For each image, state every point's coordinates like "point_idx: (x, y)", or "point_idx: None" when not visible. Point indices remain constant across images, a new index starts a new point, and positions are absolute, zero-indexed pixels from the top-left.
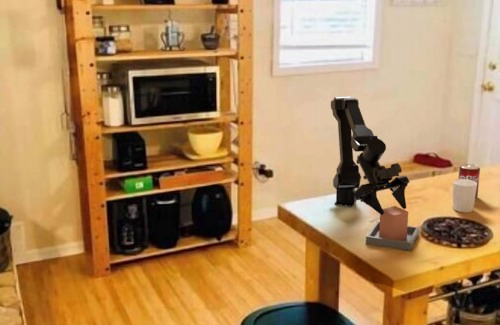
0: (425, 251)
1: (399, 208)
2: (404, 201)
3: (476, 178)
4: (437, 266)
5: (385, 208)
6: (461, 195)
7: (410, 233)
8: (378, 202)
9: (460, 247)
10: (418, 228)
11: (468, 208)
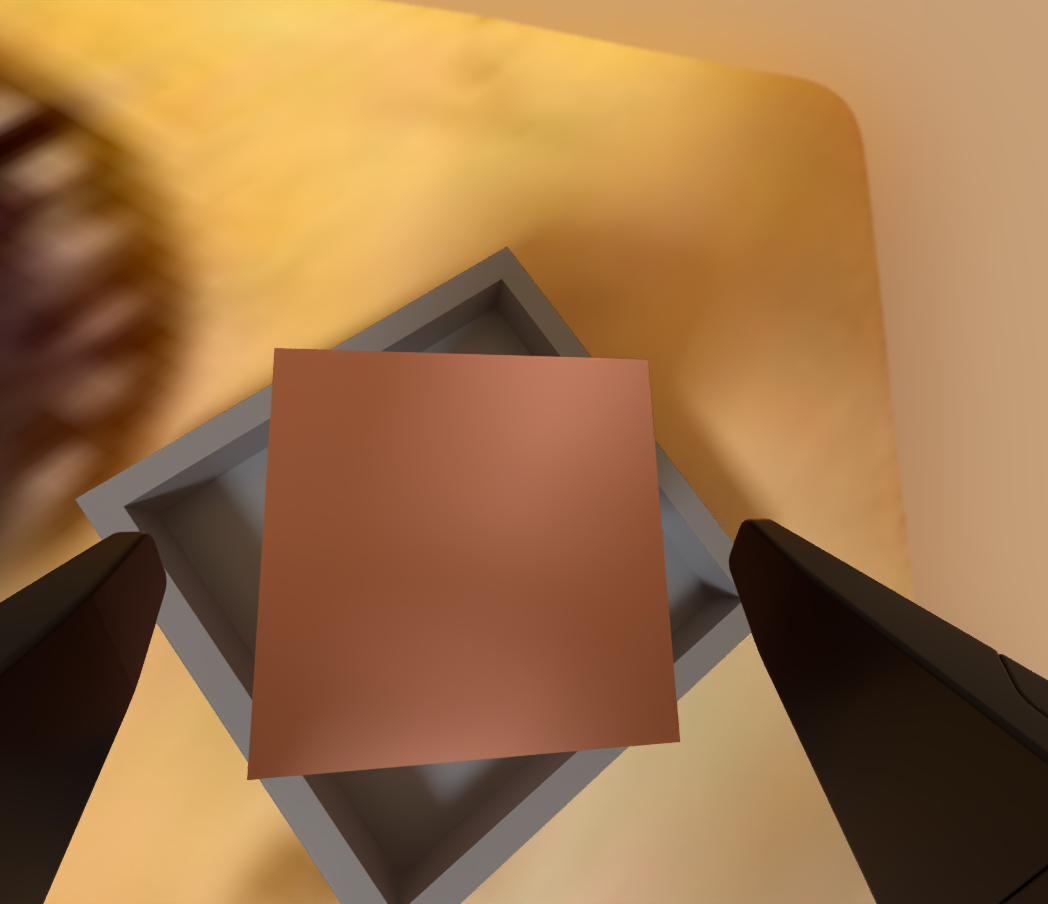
0: (391, 219)
1: (286, 582)
2: (10, 622)
3: None
4: (510, 28)
5: (548, 739)
6: None
7: (208, 545)
8: (979, 676)
9: (55, 104)
10: (113, 478)
11: None
